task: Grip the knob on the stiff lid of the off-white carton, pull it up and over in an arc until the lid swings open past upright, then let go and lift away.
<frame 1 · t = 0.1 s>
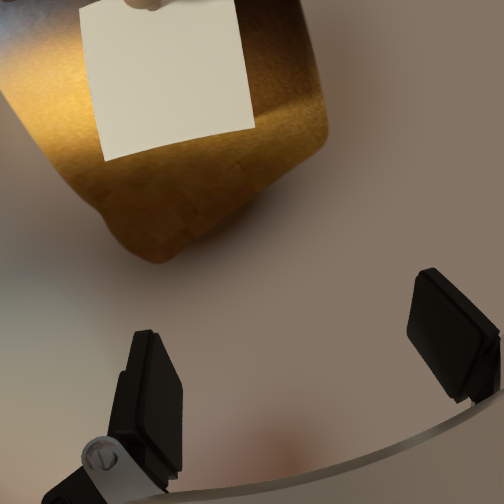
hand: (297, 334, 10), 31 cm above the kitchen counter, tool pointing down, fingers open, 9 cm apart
carton lid: (156, 53, 21), point 13 cm above the kitchen counter, hinge at 0.0°
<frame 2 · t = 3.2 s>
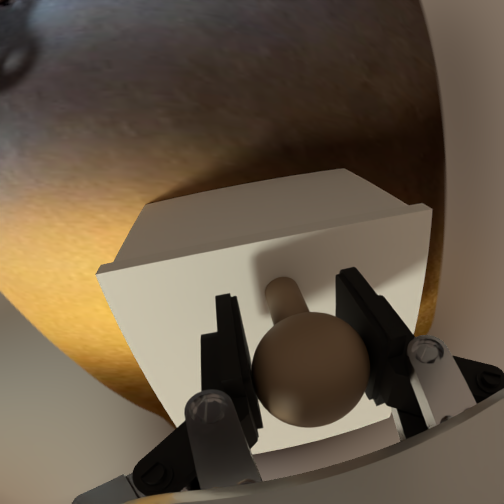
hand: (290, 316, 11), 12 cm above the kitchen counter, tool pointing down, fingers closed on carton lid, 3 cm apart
carton: (262, 283, 24), on the kitchen counter
carton lid: (303, 420, 13), point 13 cm above the kitchen counter, hinge at 0.0°, touching gripper
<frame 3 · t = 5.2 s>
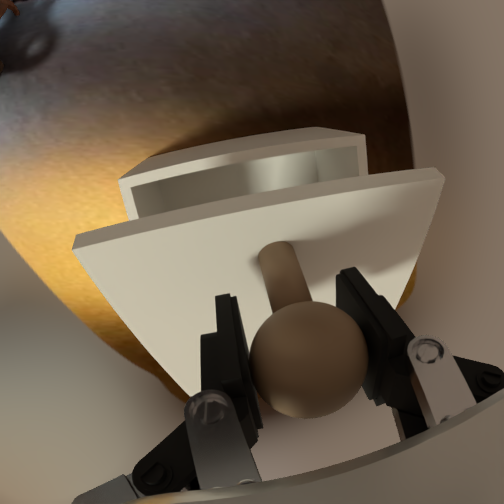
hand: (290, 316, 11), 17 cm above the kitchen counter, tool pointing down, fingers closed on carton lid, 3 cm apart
carton: (248, 229, 27), on the kitchen counter
carton lid: (293, 374, 14), point 15 cm above the kitchen counter, hinge at 21.7°, touching gripper
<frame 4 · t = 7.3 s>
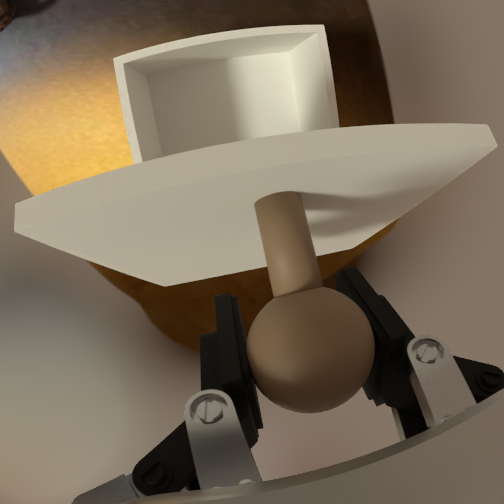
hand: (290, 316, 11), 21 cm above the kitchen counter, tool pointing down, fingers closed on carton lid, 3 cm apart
carton: (230, 137, 28), on the kitchen counter
carton lid: (278, 299, 14), point 18 cm above the kitchen counter, hinge at 53.2°, touching gripper
broken clay pot: (8, 3, 17), on the kitchen counter
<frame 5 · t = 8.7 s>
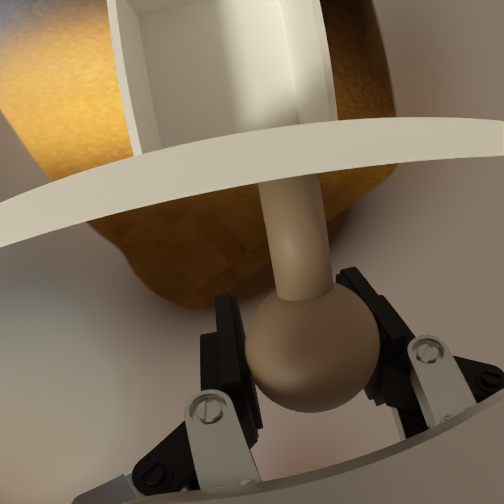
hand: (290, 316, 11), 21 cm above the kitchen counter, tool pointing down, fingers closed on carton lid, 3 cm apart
carton: (219, 71, 25), on the kitchen counter
carton lid: (271, 245, 13), point 18 cm above the kitchen counter, hinge at 75.0°, touching gripper
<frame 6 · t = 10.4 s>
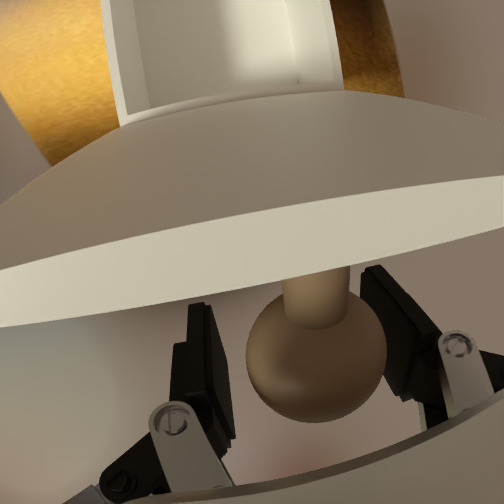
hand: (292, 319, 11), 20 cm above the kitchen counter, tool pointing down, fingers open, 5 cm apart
carton: (212, 20, 21), on the kitchen counter
carton lid: (268, 205, 12), point 17 cm above the kitchen counter, hinge at 93.7°
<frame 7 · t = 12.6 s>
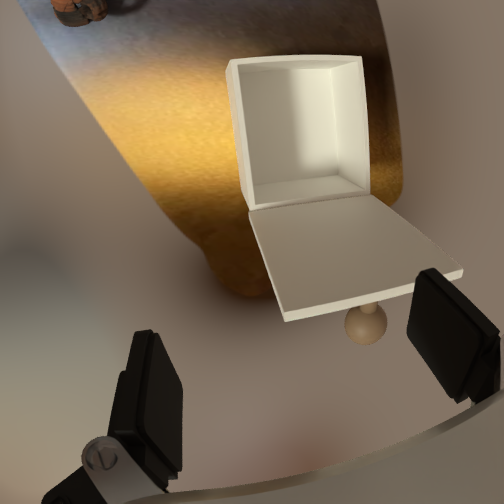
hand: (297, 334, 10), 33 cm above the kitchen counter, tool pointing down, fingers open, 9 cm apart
carton: (287, 124, 38), on the kitchen counter
carton lid: (341, 268, 28), point 17 cm above the kitchen counter, hinge at 93.7°
broken clay pot: (92, 0, 27), on the kitchen counter
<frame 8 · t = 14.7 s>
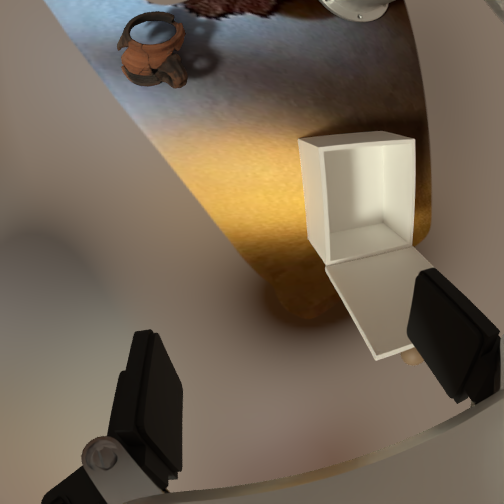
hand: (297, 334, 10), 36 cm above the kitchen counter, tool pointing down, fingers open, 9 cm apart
carton: (346, 184, 47), on the kitchen counter
carton lid: (396, 311, 37), point 17 cm above the kitchen counter, hinge at 93.7°
broken clay pot: (159, 58, 35), on the kitchen counter
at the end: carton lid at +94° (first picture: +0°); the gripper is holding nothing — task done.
